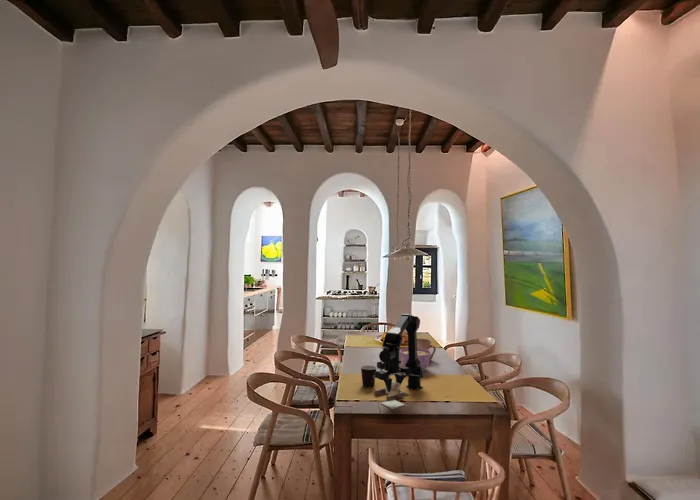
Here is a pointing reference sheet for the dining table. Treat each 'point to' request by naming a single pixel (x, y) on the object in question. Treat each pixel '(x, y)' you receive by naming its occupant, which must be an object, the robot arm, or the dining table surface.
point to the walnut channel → (388, 397)
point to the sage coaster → (392, 404)
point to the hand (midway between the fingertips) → (393, 390)
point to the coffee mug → (368, 376)
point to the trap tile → (404, 394)
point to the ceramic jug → (425, 345)
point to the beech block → (394, 388)
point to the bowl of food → (421, 355)
